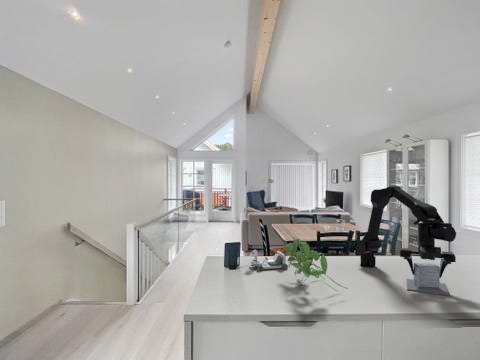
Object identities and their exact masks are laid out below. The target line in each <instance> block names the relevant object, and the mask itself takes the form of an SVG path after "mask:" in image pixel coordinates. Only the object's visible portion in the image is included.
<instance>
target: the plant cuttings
mask: <svg viewBox="0 0 480 360" xmlns="http://www.w3.org/2000/svg"><path fill="white" fill-rule="evenodd" d="M292 241H293V242H289V243H287V244H285V247H284V248H285V251H286V252H284V253H283V254H284V256H286V257H287V256H288V255H290V256H289V257H288V258H287V261H288V268H290V267H292V266H293V267H294V268H295V271H294V276H297V275H301V273H303V276H302V278H301V279H299V278H298V279H296V281H295V282H296V284H297V287H298V288H301V287H303V286H304V282H306V280H307V279H308V278H309V277H311V276H312V277H315V278H316V279H319V278H320V277H321V278H323V279H326V278H325V277H323V276H322V275H324V276H326V277H327V278H329V280H331V281H332V282H333V283H335V284H336V285H337V286H340V287H342V288H343V289H348V287H345V286H343V285H341V284H340V283H337V282H336V281H334V279H333V278H331V277H329V276H328V275H327V274H326V273H327V270H328V261H327V260H328V259H327V258H326V255H325V254H324V253H323V252H318V251H316V250H314V249H311V248H310V245H309V244H308V242H307V240H305V241H302V240H300V238H296V237H294V238H293V240H292ZM298 247H299V249H300V250H298ZM318 260H320V261H319V262H320V266H321V267H320V266H318V265H317V264H315V263H314V262H313V261H315V262H317V261H318ZM311 266H314V267H315V268H317V269H314V268H313V267H311ZM305 277H306V278H305ZM304 278H305V279H304ZM303 279H304V280H303ZM321 282H322V283H324V284H325V285H327V286H328V287H330V288H332V289H333V290H334V291H336V292H338V293H339V294H341V292H339V291H338V289H335V288H334V287H332V286H331V285H329V284H327V283H325V282H323V280H321Z"/></svg>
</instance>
